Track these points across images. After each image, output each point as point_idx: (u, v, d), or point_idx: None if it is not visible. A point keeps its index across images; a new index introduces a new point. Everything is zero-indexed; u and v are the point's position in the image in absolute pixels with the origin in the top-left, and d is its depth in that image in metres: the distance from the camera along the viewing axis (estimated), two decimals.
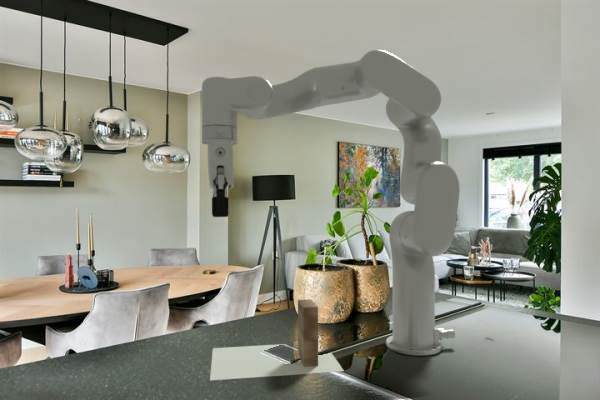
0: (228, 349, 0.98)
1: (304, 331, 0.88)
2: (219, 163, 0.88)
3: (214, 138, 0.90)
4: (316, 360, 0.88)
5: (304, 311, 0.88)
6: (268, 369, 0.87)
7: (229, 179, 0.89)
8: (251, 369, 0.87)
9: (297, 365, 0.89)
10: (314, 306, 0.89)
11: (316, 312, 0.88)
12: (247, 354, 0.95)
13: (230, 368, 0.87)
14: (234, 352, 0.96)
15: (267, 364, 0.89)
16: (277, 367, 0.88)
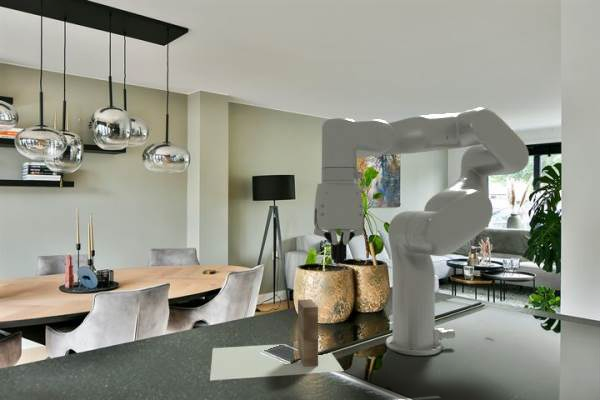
0: (228, 349, 0.98)
1: (304, 331, 0.88)
2: None
3: (356, 181, 0.92)
4: (316, 360, 0.88)
5: (304, 311, 0.88)
6: (268, 369, 0.87)
7: None
8: (251, 369, 0.87)
9: (297, 365, 0.89)
10: (314, 306, 0.89)
11: (316, 312, 0.88)
12: (247, 354, 0.95)
13: (230, 368, 0.87)
14: (234, 352, 0.96)
15: (267, 364, 0.89)
16: (277, 367, 0.88)
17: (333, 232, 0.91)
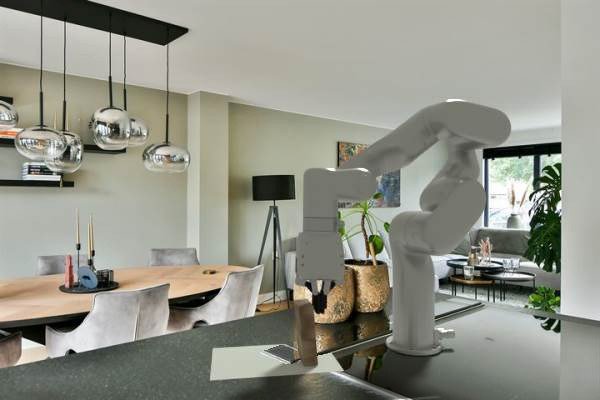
0: (228, 349, 0.98)
1: (301, 331, 0.88)
2: None
3: None
4: (316, 359, 0.88)
5: (300, 311, 0.88)
6: (268, 369, 0.87)
7: None
8: (251, 369, 0.87)
9: (297, 365, 0.89)
10: (310, 305, 0.89)
11: (312, 311, 0.88)
12: (247, 354, 0.95)
13: (230, 368, 0.87)
14: (234, 352, 0.96)
15: (267, 364, 0.89)
16: (277, 367, 0.88)
17: (314, 282, 0.90)
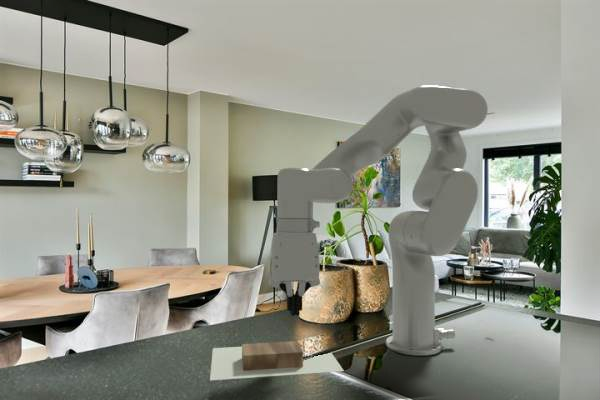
0: (228, 349, 0.98)
1: (267, 368, 0.87)
2: None
3: (312, 231, 0.91)
4: (297, 354, 0.88)
5: (247, 369, 0.86)
6: (268, 369, 0.87)
7: None
8: None
9: None
10: (243, 357, 0.87)
11: (248, 356, 0.86)
12: None
13: (230, 368, 0.87)
14: (234, 352, 0.96)
15: None
16: None
17: (288, 283, 0.90)
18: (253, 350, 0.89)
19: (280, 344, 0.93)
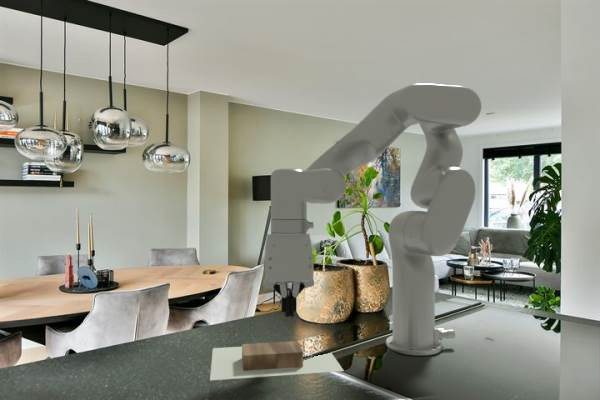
0: (228, 349, 0.98)
1: (267, 368, 0.87)
2: None
3: (306, 232, 0.90)
4: (297, 354, 0.88)
5: (247, 369, 0.86)
6: (268, 369, 0.87)
7: None
8: None
9: None
10: (243, 357, 0.87)
11: (248, 356, 0.86)
12: None
13: (230, 368, 0.87)
14: (234, 352, 0.96)
15: None
16: None
17: (282, 285, 0.89)
18: (253, 350, 0.89)
19: (280, 344, 0.93)
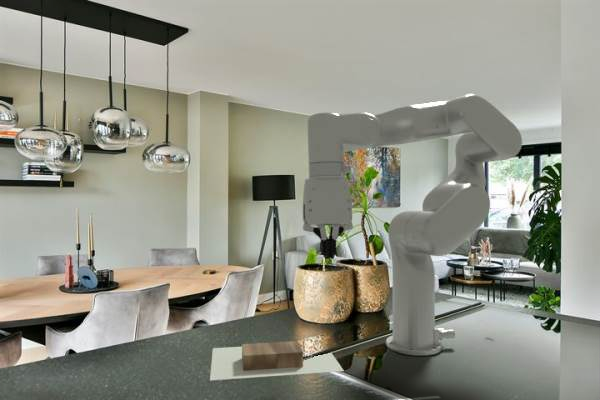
0: (228, 349, 0.98)
1: (267, 368, 0.87)
2: None
3: None
4: (297, 354, 0.88)
5: (247, 369, 0.86)
6: (268, 369, 0.87)
7: None
8: None
9: None
10: (243, 357, 0.87)
11: (248, 356, 0.86)
12: None
13: (230, 368, 0.87)
14: (234, 352, 0.96)
15: None
16: None
17: (322, 227, 0.91)
18: (253, 350, 0.89)
19: (280, 344, 0.93)
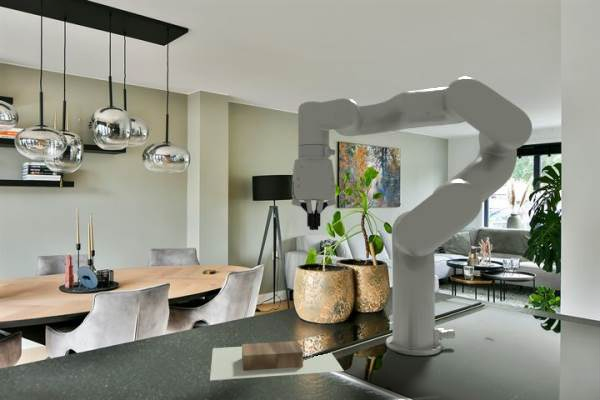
0: (228, 349, 0.98)
1: (267, 368, 0.87)
2: None
3: None
4: (297, 354, 0.88)
5: (247, 369, 0.86)
6: (268, 369, 0.87)
7: None
8: None
9: None
10: (243, 357, 0.87)
11: (248, 356, 0.86)
12: None
13: (230, 368, 0.87)
14: (234, 352, 0.96)
15: None
16: None
17: (308, 202, 1.04)
18: (253, 350, 0.89)
19: (280, 344, 0.93)
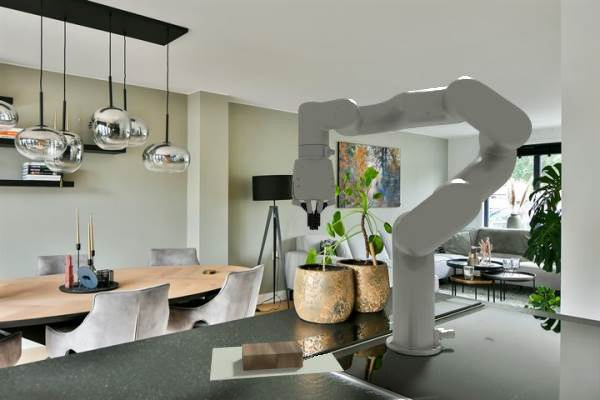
0: (228, 349, 0.98)
1: (267, 368, 0.87)
2: None
3: None
4: (297, 354, 0.88)
5: (247, 369, 0.86)
6: (268, 369, 0.87)
7: None
8: None
9: None
10: (243, 357, 0.87)
11: (248, 356, 0.86)
12: None
13: (230, 368, 0.87)
14: (234, 352, 0.96)
15: None
16: None
17: (308, 202, 1.04)
18: (253, 350, 0.89)
19: (280, 344, 0.93)
